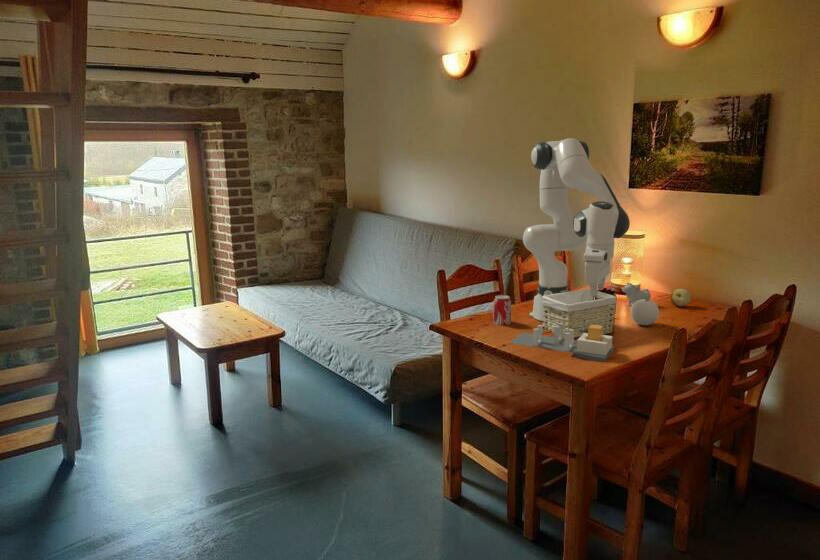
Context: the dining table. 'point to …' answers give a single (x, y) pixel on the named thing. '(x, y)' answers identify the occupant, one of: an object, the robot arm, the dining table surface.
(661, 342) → the dining table surface
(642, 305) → the ornament
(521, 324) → the dining table surface
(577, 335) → the storage basket
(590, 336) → the plug
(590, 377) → the dining table surface
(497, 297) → the soda can
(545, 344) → the board
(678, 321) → the dining table surface
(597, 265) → the robot arm
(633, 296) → the dog figurine
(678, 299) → the fruit
